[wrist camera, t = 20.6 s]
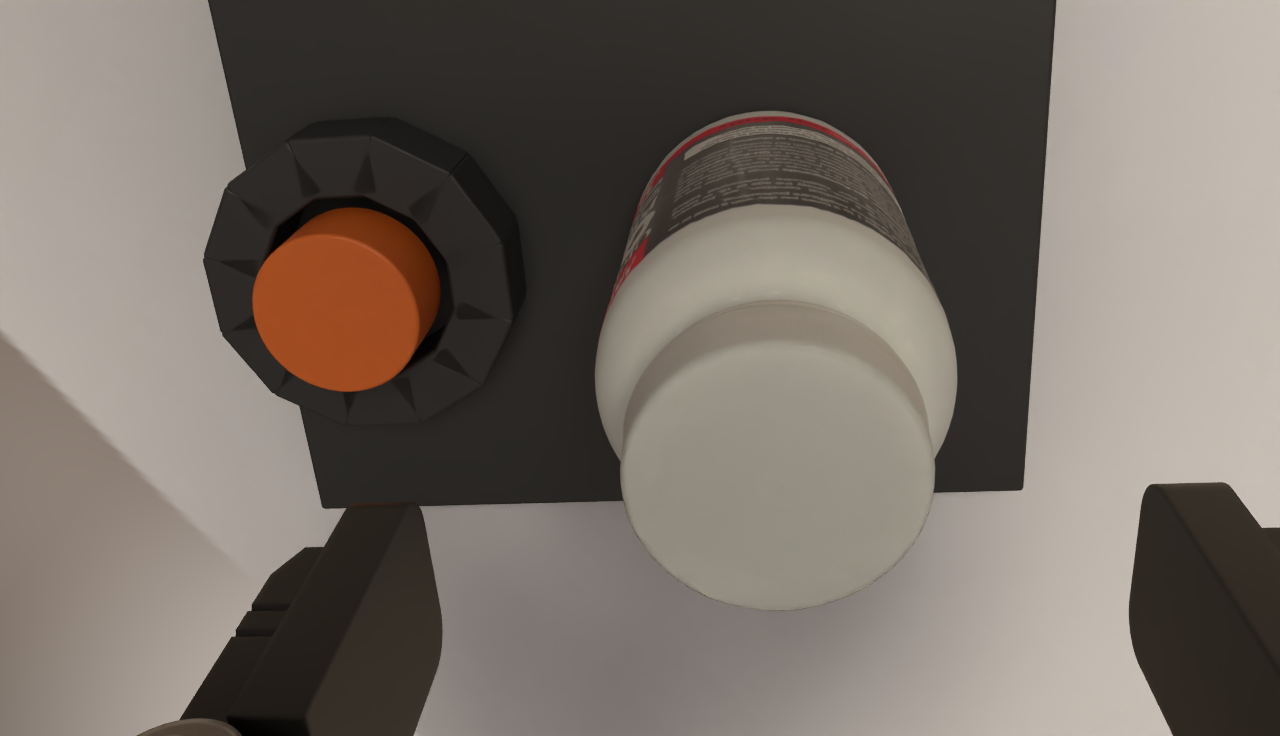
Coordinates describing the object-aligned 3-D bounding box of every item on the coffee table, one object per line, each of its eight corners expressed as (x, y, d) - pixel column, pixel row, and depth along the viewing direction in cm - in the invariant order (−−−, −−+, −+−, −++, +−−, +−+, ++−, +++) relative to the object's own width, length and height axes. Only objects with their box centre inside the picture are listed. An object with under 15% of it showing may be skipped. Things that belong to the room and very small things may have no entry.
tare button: (302, 359, 24) (270, 396, 22) (269, 211, 22) (233, 238, 21) (452, 353, 23) (431, 389, 22) (428, 202, 22) (403, 229, 20)
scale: (319, 480, 28) (273, 548, 25) (203, -33, 23) (131, -16, 20) (1010, 460, 26) (1041, 531, 24) (1044, -100, 21) (1089, -92, 19)
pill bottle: (603, 141, 23) (512, 335, 14) (875, 75, 22) (967, 239, 13) (668, 382, 25) (626, 686, 16) (919, 332, 24) (1025, 626, 15)
